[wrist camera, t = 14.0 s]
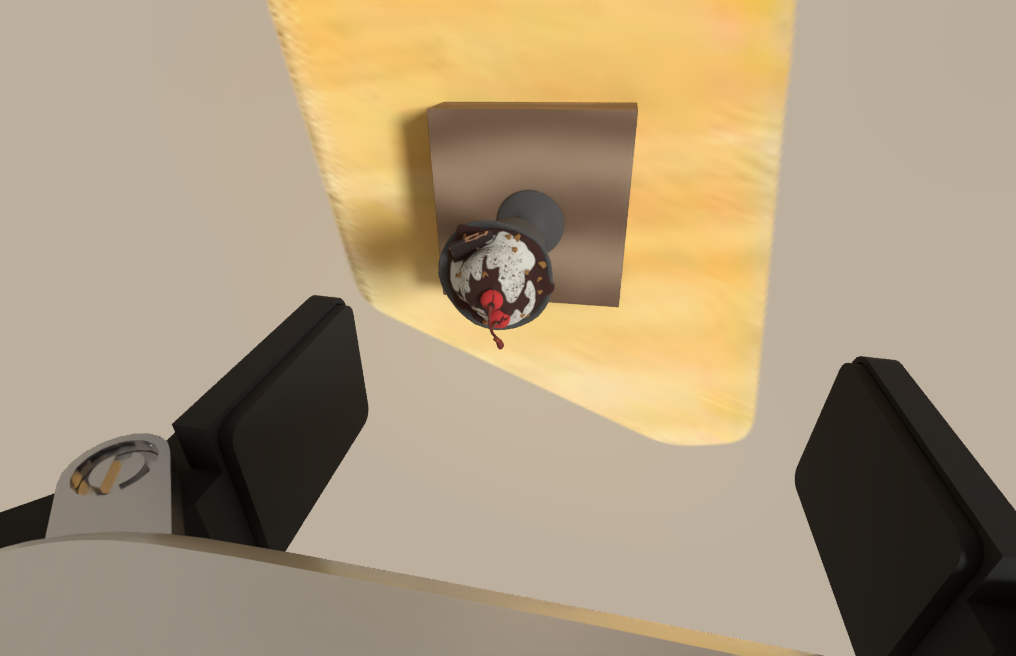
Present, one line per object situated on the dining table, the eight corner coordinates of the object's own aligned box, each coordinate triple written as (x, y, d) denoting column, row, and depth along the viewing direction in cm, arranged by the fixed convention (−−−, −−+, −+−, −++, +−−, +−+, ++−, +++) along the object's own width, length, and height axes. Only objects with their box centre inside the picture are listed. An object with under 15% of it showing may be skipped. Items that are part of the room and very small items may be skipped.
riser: (444, 101, 39) (426, 109, 35) (636, 102, 36) (638, 110, 33) (457, 274, 46) (443, 294, 42) (619, 285, 43) (618, 307, 40)
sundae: (565, 276, 39) (523, 391, 26) (480, 254, 40) (399, 355, 27) (587, 190, 36) (551, 274, 23) (494, 168, 36) (409, 237, 24)
